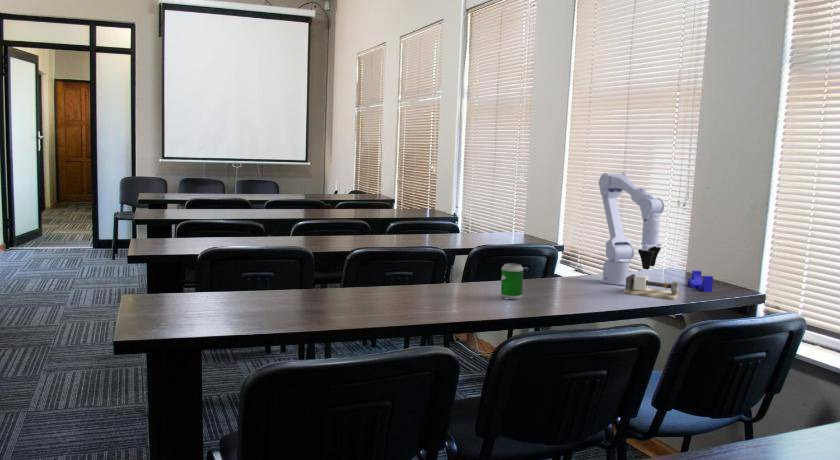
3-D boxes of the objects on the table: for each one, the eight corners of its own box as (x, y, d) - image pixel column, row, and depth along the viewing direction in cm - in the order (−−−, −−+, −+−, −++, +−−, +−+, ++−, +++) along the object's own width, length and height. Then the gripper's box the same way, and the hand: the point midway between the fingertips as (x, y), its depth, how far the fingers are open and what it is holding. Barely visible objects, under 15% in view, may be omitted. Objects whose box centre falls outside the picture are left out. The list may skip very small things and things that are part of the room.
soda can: (524, 297, 234) (525, 264, 232) (518, 301, 227) (519, 267, 225) (504, 295, 237) (505, 262, 235) (498, 299, 230) (498, 265, 228)
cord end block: (633, 289, 242) (634, 276, 241) (637, 287, 246) (638, 274, 245) (644, 291, 240) (645, 277, 239) (648, 288, 244) (648, 275, 243)
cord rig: (623, 293, 242) (624, 277, 241) (631, 288, 250) (631, 273, 249) (674, 299, 232) (675, 283, 231) (680, 294, 240) (681, 279, 239)
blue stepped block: (687, 285, 257) (688, 270, 257) (698, 285, 257) (699, 270, 257) (699, 292, 245) (701, 276, 245) (712, 292, 245) (713, 276, 245)
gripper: (657, 234, 232) (654, 271, 234) (666, 230, 244) (664, 265, 246) (636, 232, 236) (634, 269, 238) (647, 228, 248) (645, 263, 250)
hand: (648, 267), depth 242 cm, fingers open, 7 cm apart
